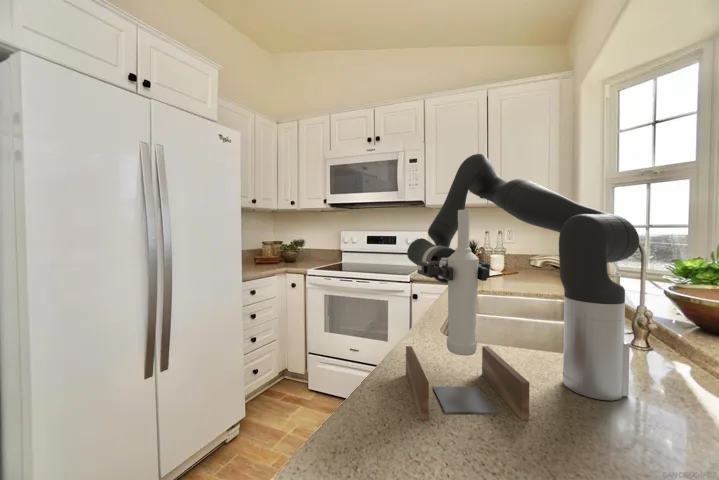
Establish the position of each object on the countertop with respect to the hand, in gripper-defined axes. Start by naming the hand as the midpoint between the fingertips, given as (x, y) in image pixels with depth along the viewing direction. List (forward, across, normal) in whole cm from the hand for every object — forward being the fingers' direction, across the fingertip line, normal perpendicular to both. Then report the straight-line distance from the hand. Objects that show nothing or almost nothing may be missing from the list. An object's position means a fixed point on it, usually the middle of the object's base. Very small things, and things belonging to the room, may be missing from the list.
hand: (468, 274), depth 53 cm
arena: (-4, 0, +23) cm, 23 cm away
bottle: (-3, 0, +14) cm, 14 cm away
